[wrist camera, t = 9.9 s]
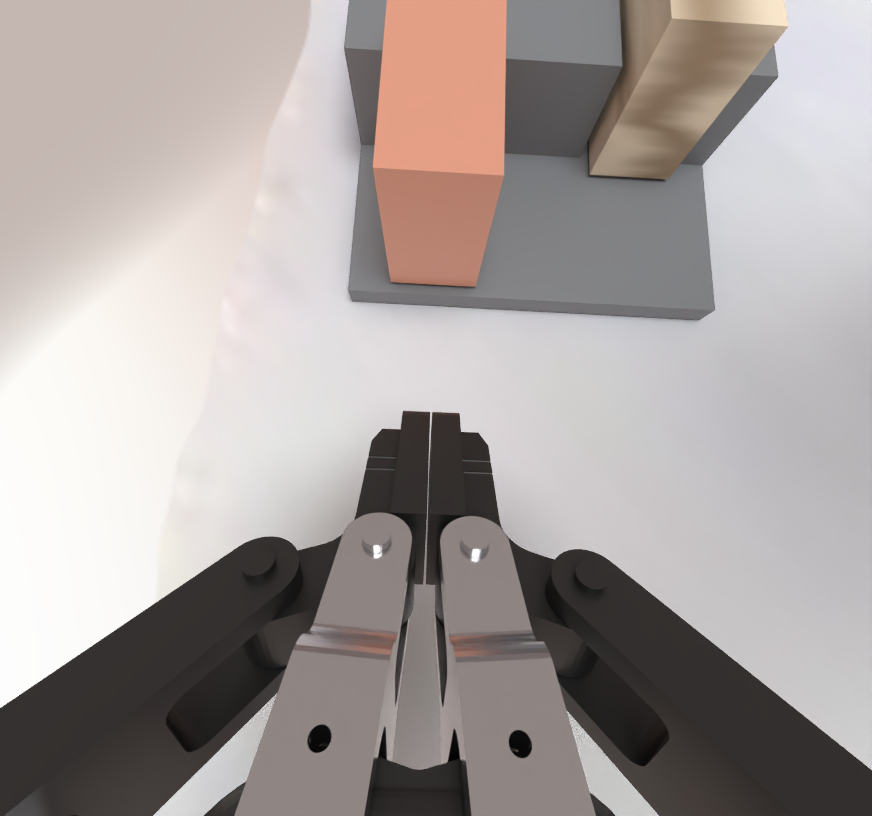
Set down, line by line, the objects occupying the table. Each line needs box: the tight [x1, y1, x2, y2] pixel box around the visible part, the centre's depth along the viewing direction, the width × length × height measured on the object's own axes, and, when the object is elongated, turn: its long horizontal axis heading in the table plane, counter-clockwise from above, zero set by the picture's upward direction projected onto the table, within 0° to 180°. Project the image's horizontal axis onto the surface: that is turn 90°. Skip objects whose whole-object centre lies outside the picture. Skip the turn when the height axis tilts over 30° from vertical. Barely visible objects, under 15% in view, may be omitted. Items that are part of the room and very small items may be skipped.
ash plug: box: [589, 0, 788, 179], centre depth 23 cm, size 5×10×9 cm, turn 177°
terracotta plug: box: [373, 0, 507, 287], centre depth 22 cm, size 5×10×9 cm, turn 177°
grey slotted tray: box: [344, 0, 778, 320], centre depth 25 cm, size 22×20×8 cm
